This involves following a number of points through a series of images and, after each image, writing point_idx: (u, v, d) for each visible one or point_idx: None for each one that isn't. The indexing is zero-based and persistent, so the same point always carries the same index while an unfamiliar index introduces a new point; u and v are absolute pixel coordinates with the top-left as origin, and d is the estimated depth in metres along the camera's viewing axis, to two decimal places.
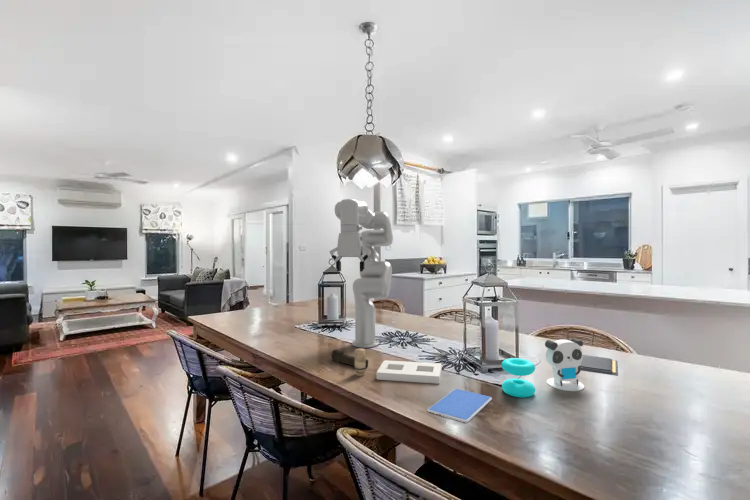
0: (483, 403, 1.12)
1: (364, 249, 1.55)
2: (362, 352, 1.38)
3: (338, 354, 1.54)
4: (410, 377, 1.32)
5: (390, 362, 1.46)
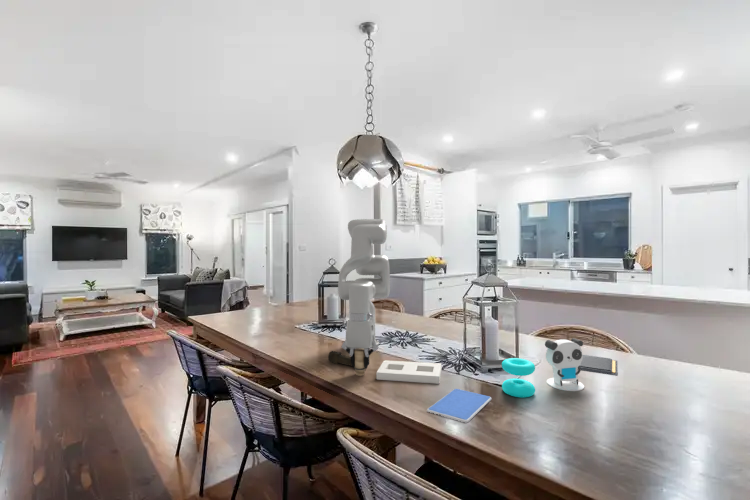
0: (483, 403, 1.12)
1: (373, 343, 1.38)
2: (362, 352, 1.38)
3: (336, 355, 1.53)
4: (410, 377, 1.32)
5: (390, 362, 1.46)
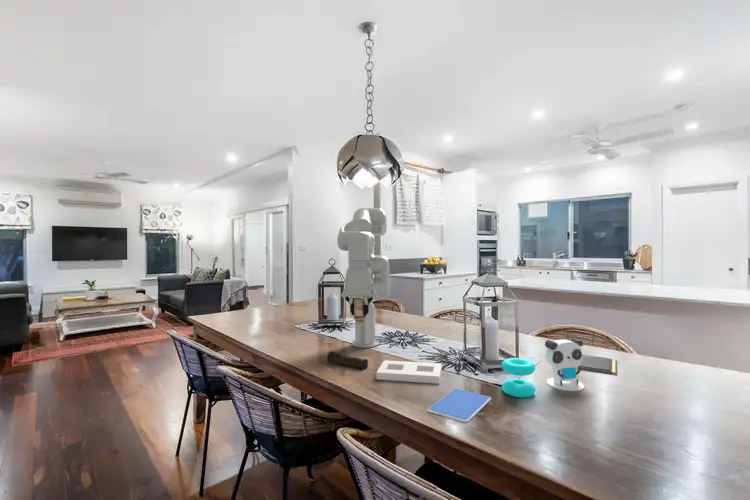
0: (483, 403, 1.12)
1: (372, 291, 1.38)
2: (361, 300, 1.38)
3: (335, 355, 1.52)
4: (410, 377, 1.32)
5: (390, 362, 1.46)
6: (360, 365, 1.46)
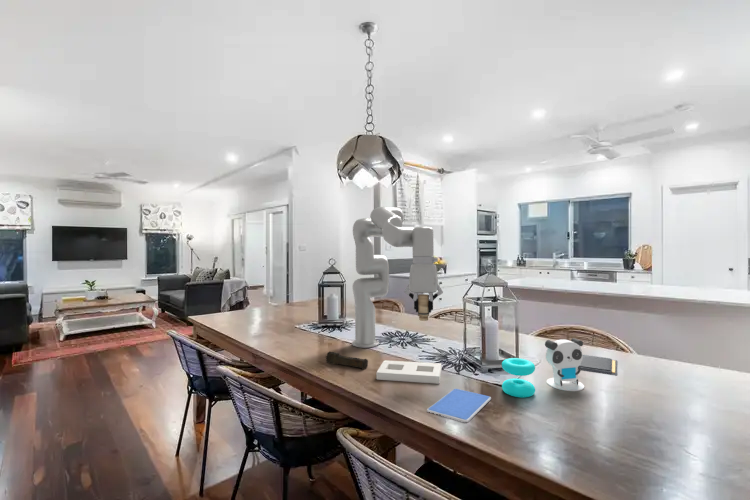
0: (482, 403, 1.12)
1: (438, 287, 1.36)
2: (426, 296, 1.36)
3: (335, 355, 1.52)
4: (410, 377, 1.32)
5: (390, 362, 1.46)
6: (360, 365, 1.46)
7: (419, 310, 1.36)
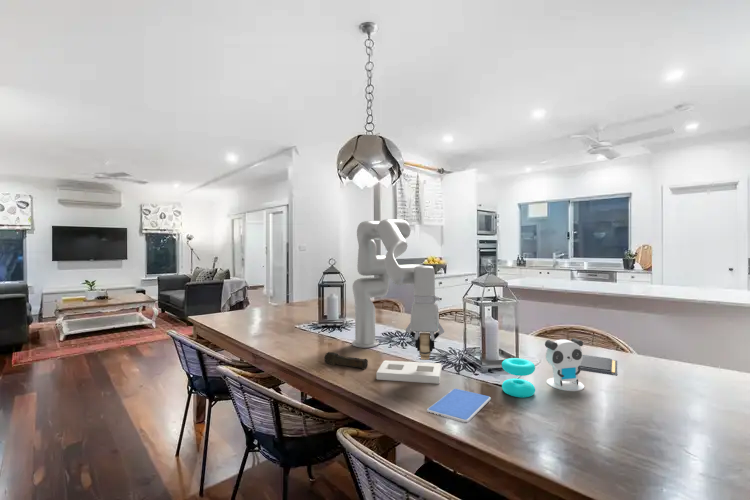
0: (482, 403, 1.13)
1: (439, 326, 1.36)
2: (428, 336, 1.36)
3: (334, 356, 1.51)
4: (410, 377, 1.32)
5: (390, 362, 1.46)
6: (360, 365, 1.46)
7: (420, 349, 1.37)
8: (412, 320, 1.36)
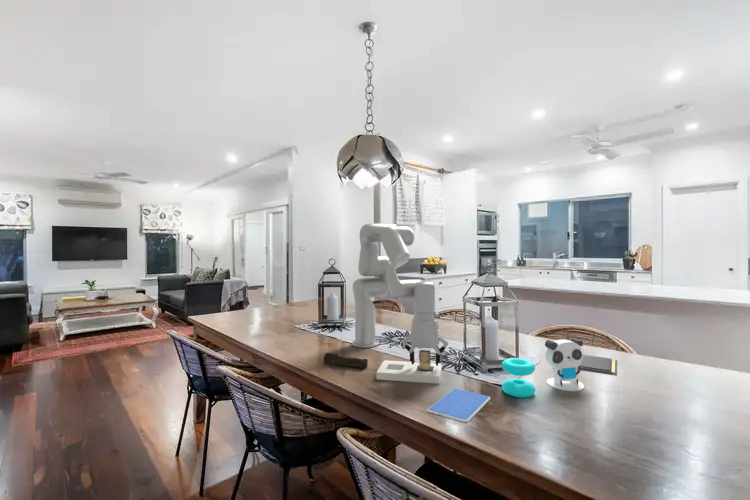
0: (482, 403, 1.13)
1: (441, 340, 1.36)
2: (428, 353, 1.36)
3: (333, 356, 1.51)
4: (410, 377, 1.32)
5: (390, 362, 1.46)
6: (361, 365, 1.46)
7: (420, 366, 1.37)
8: (412, 336, 1.37)
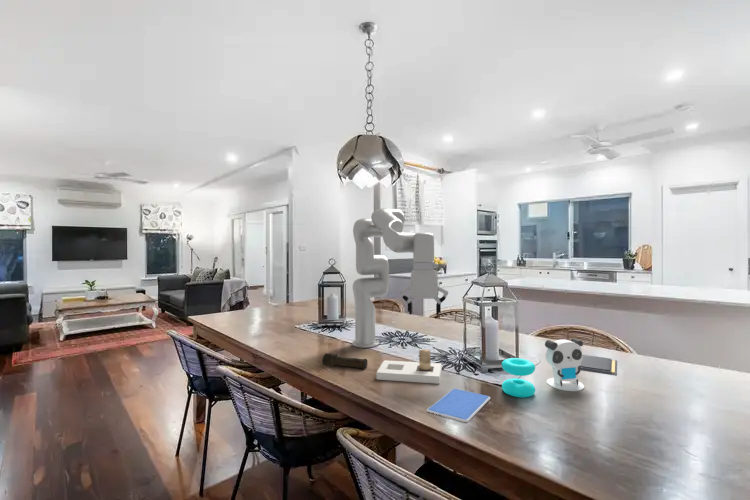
0: (482, 402, 1.13)
1: (441, 290, 1.36)
2: (428, 353, 1.36)
3: (333, 357, 1.50)
4: (410, 377, 1.32)
5: (390, 362, 1.46)
6: (361, 365, 1.46)
7: (420, 366, 1.37)
8: (411, 287, 1.36)
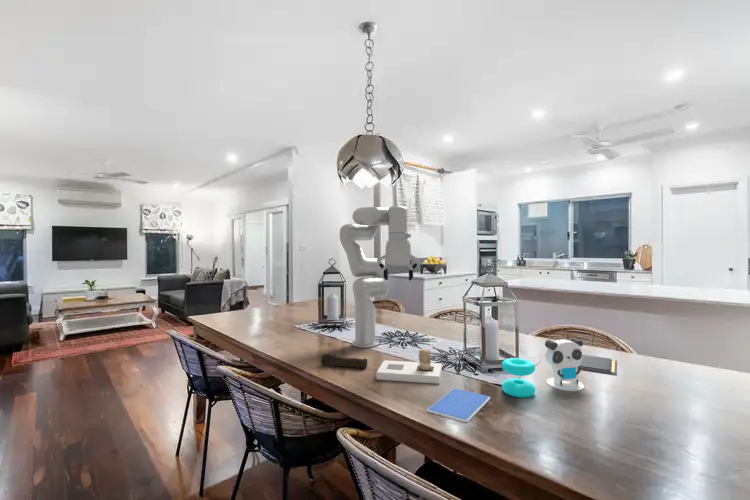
0: (482, 403, 1.13)
1: (413, 257, 1.50)
2: (428, 353, 1.36)
3: (332, 357, 1.49)
4: (410, 377, 1.32)
5: (390, 362, 1.46)
6: (361, 365, 1.46)
7: (420, 366, 1.37)
8: (386, 255, 1.51)
